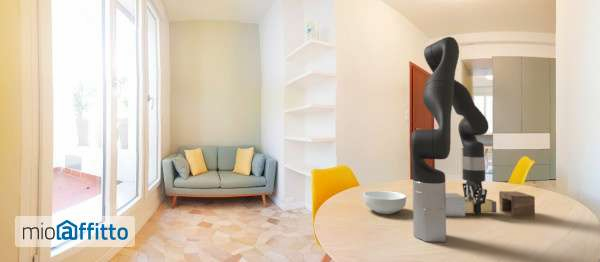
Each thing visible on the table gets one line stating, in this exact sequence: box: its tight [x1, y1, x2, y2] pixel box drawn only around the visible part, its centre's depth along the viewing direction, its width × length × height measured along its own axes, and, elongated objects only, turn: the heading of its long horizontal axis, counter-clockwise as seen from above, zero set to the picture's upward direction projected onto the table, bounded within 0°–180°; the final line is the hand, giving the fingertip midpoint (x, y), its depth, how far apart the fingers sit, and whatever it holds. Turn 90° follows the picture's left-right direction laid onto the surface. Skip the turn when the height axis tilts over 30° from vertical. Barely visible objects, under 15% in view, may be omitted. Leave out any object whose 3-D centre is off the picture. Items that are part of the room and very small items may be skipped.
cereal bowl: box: [363, 190, 407, 215], centre depth 114 cm, size 17×17×7 cm
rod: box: [465, 198, 497, 214], centre depth 110 cm, size 4×24×4 cm, turn 85°
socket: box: [498, 190, 536, 219], centre depth 108 cm, size 9×7×8 cm
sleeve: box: [445, 192, 467, 218], centre depth 110 cm, size 7×15×7 cm, turn 85°
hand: (474, 211), depth 109 cm, fingers closed on rod, 4 cm apart
